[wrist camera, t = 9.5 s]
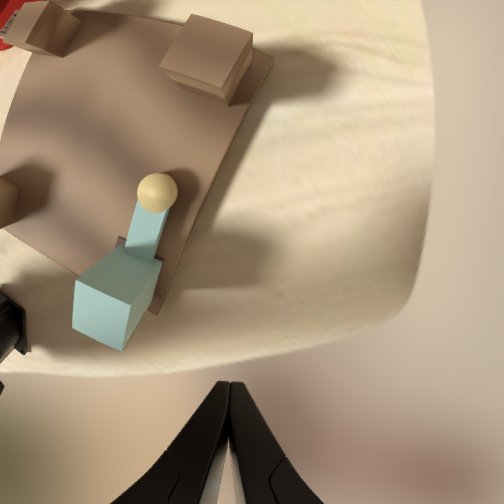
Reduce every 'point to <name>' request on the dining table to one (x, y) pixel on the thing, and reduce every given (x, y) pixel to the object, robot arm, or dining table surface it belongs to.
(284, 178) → the dining table surface
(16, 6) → the canned food
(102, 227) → the stool seat
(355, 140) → the dining table surface
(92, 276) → the hinged leg
